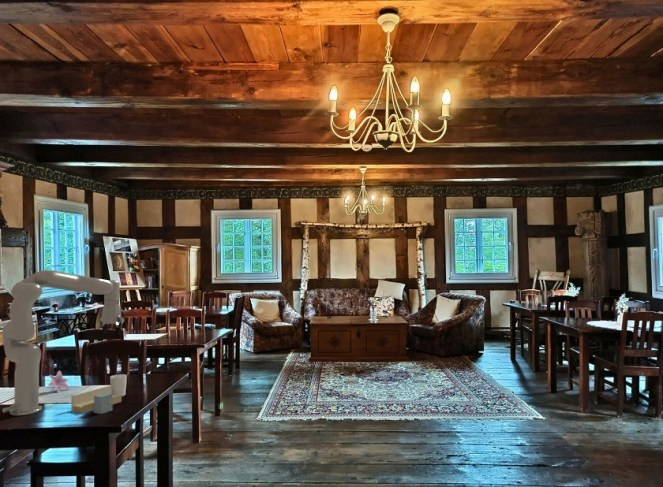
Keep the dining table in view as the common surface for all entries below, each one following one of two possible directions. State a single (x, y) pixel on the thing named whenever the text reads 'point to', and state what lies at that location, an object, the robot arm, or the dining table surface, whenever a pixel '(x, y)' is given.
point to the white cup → (118, 384)
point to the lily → (58, 382)
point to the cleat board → (90, 399)
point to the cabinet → (103, 403)
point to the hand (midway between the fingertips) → (111, 333)
